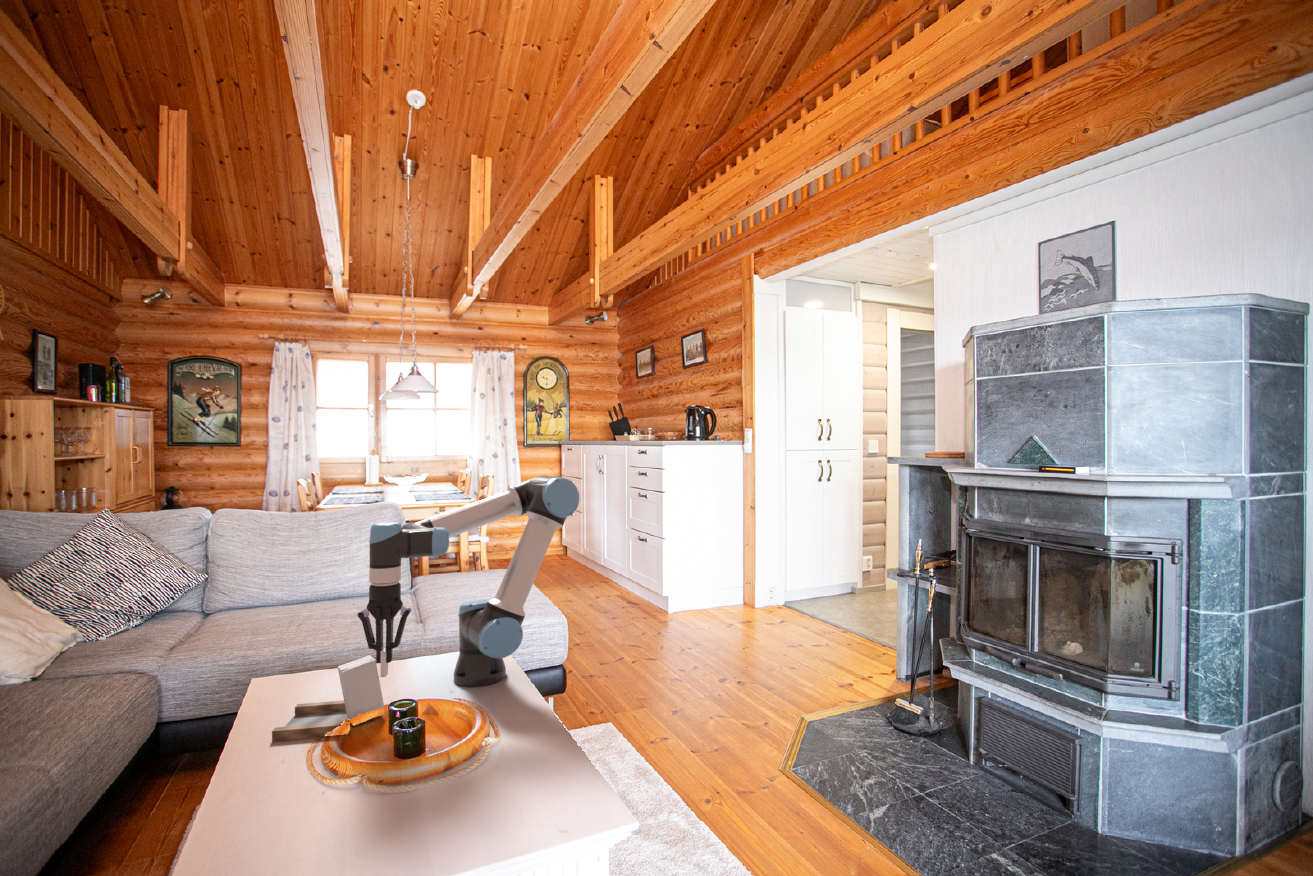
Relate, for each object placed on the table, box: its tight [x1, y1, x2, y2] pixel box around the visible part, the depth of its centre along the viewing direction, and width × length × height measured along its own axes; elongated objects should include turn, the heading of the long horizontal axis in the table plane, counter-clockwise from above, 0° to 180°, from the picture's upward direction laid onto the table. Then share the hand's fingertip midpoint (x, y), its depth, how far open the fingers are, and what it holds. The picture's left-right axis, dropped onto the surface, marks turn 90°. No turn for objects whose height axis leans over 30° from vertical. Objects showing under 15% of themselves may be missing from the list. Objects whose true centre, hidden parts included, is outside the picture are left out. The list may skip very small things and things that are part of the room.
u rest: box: [271, 699, 348, 743], centre depth 159 cm, size 17×16×2 cm
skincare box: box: [337, 654, 385, 720], centre depth 161 cm, size 8×6×15 cm
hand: (384, 675), depth 161 cm, fingers closed
